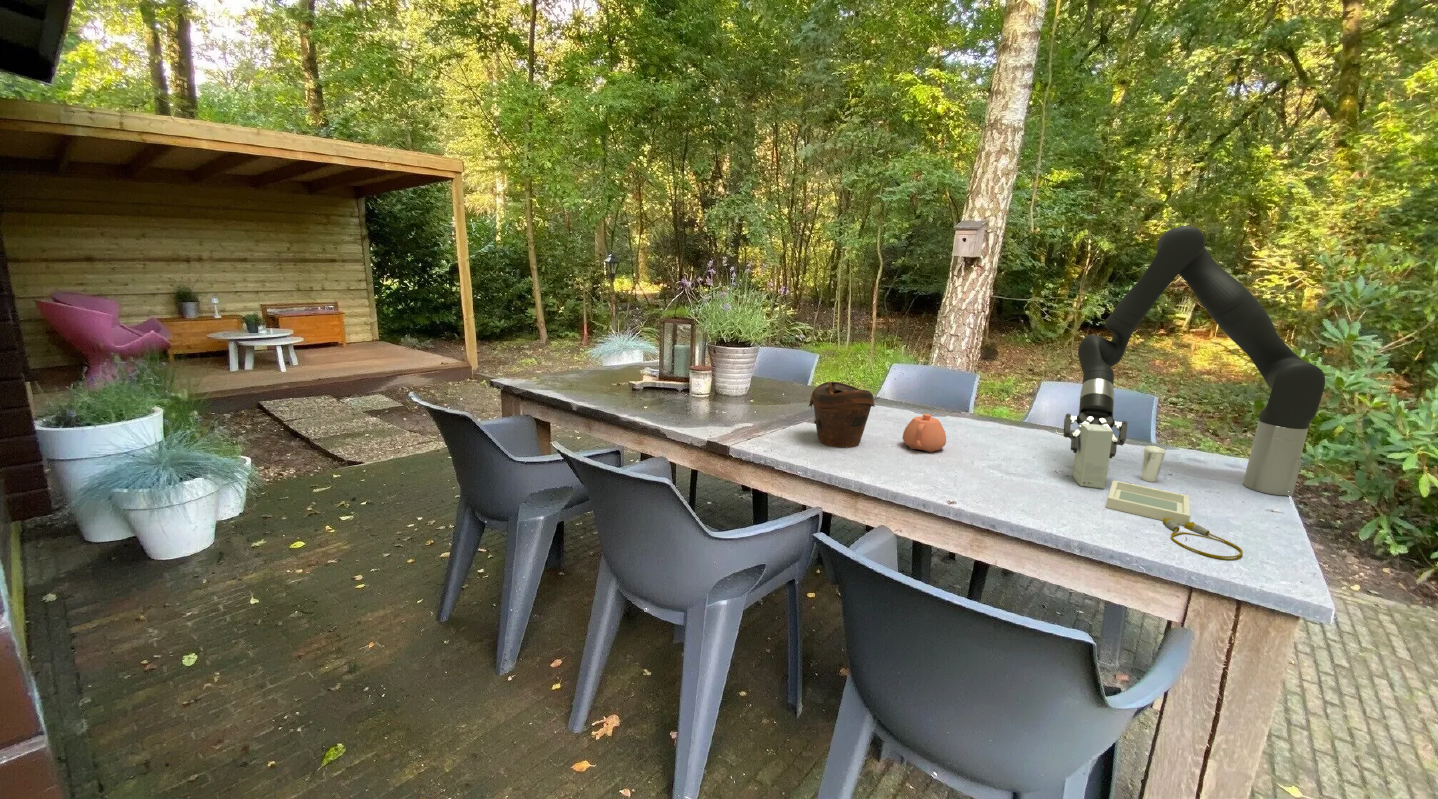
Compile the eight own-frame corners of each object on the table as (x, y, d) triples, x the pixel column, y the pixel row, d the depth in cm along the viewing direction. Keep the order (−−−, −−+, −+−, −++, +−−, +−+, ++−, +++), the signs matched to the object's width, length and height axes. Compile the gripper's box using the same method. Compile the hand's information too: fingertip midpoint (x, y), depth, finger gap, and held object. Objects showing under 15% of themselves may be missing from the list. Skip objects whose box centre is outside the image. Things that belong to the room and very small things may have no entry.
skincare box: (1104, 489, 149) (1116, 432, 145) (1077, 486, 150) (1088, 429, 147) (1095, 478, 156) (1105, 423, 153) (1069, 475, 158) (1079, 421, 155)
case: (821, 428, 194) (825, 374, 190) (880, 441, 183) (886, 383, 178) (794, 441, 180) (798, 383, 175) (856, 456, 169) (862, 394, 164)
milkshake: (1166, 484, 154) (1174, 447, 152) (1143, 481, 155) (1150, 445, 153) (1157, 478, 159) (1165, 441, 156) (1135, 475, 160) (1142, 439, 157)
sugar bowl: (949, 446, 180) (953, 413, 177) (938, 458, 168) (942, 423, 166) (908, 439, 186) (911, 407, 184) (894, 450, 174) (898, 416, 172)
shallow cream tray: (1186, 505, 140) (1189, 495, 140) (1187, 526, 129) (1190, 515, 128) (1111, 489, 149) (1113, 480, 148) (1105, 507, 137) (1107, 497, 137)
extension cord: (1232, 537, 125) (1234, 528, 125) (1248, 568, 112) (1251, 559, 111) (1161, 522, 131) (1162, 514, 131) (1168, 550, 118) (1170, 541, 118)
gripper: (1067, 388, 158) (1062, 442, 150) (1132, 395, 152) (1130, 451, 144) (1063, 404, 164) (1058, 456, 156) (1125, 411, 158) (1123, 466, 150)
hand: (1092, 454), depth 150 cm, fingers open, 7 cm apart
